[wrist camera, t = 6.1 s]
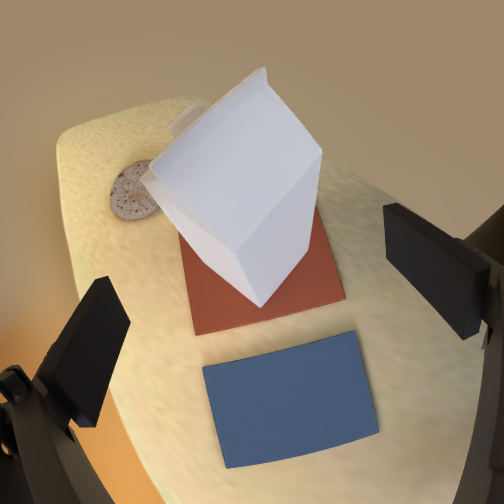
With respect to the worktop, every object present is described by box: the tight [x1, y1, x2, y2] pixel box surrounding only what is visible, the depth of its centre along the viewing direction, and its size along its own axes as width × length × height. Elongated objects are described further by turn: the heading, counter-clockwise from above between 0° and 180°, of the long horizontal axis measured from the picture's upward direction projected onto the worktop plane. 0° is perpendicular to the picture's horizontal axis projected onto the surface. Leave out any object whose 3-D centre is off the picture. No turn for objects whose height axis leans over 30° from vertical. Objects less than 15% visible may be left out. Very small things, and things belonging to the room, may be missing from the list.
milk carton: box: [139, 66, 322, 308], centre depth 21 cm, size 7×7×19 cm
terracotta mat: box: [178, 205, 345, 335], centre depth 30 cm, size 14×12×1 cm
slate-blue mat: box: [202, 330, 379, 469], centre depth 25 cm, size 14×10×1 cm
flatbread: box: [110, 160, 159, 221], centre depth 34 cm, size 8×8×1 cm
